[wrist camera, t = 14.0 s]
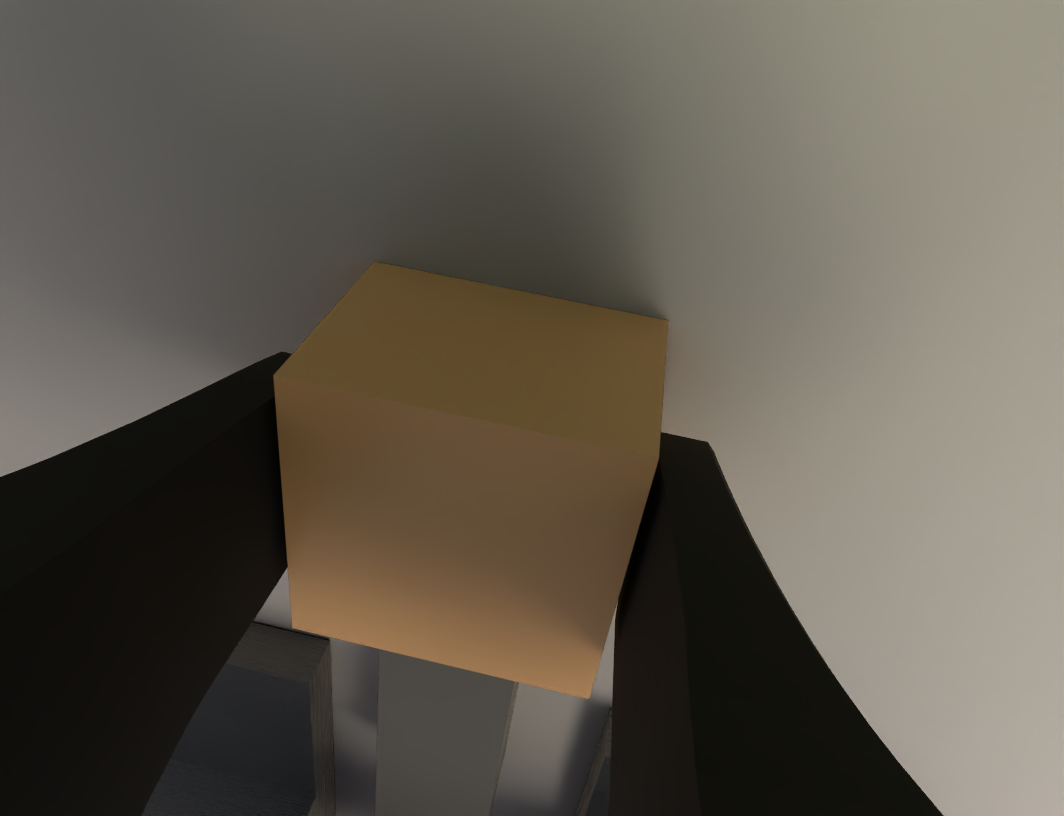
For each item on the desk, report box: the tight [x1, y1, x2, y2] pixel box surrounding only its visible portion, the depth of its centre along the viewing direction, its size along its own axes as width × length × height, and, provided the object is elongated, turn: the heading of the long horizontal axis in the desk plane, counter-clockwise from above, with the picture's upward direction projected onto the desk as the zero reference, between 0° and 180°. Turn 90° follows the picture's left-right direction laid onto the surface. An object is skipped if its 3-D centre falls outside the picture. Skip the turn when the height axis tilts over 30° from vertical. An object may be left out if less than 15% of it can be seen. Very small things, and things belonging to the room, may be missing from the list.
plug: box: [273, 261, 668, 816], centre depth 12 cm, size 11×4×3 cm, turn 172°
